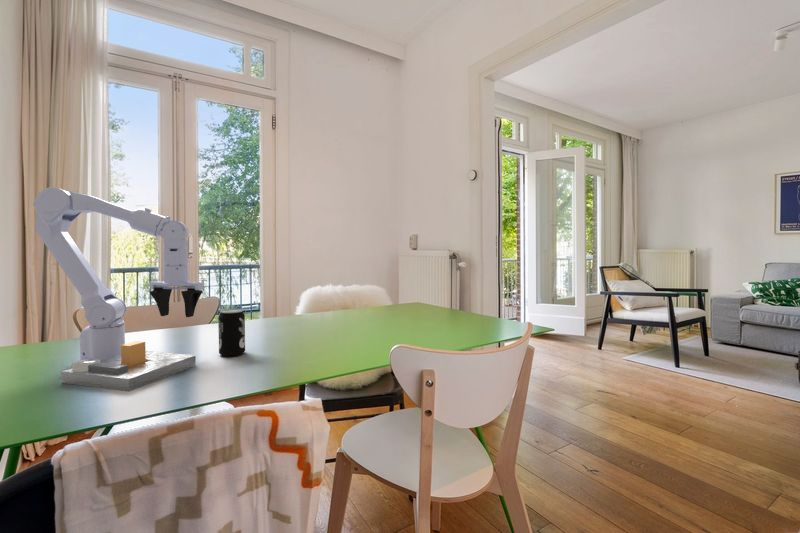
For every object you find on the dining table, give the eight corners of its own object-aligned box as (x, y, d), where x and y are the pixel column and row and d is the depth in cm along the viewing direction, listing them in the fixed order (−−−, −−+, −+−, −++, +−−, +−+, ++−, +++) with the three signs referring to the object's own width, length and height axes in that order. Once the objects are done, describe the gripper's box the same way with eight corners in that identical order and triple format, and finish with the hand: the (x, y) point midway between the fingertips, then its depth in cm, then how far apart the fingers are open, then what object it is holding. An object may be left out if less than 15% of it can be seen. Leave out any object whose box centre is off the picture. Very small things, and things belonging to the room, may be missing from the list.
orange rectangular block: (121, 375, 89) (120, 345, 89) (137, 370, 93) (136, 341, 93) (130, 376, 89) (129, 346, 88) (146, 371, 93) (145, 341, 92)
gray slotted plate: (61, 382, 85) (61, 364, 84) (137, 359, 102) (136, 344, 102) (128, 391, 80) (128, 371, 80) (195, 365, 97) (195, 349, 97)
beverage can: (235, 358, 104) (235, 312, 103) (213, 356, 105) (212, 311, 104) (250, 351, 110) (249, 309, 110) (229, 350, 111) (228, 308, 111)
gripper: (140, 266, 103) (141, 317, 104) (189, 266, 101) (190, 319, 102) (160, 264, 110) (162, 313, 111) (207, 265, 108) (208, 315, 108)
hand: (177, 316), depth 107 cm, fingers open, 7 cm apart
